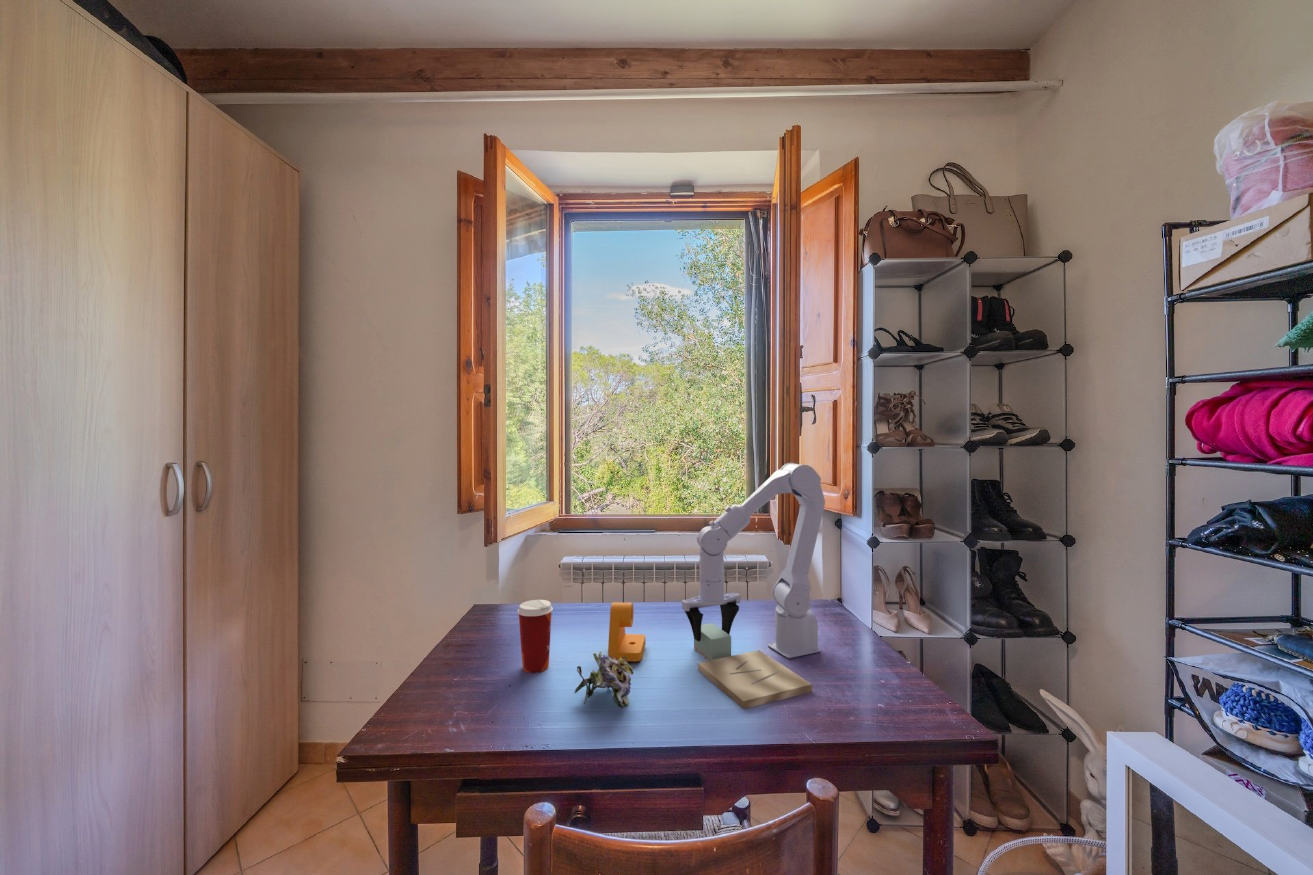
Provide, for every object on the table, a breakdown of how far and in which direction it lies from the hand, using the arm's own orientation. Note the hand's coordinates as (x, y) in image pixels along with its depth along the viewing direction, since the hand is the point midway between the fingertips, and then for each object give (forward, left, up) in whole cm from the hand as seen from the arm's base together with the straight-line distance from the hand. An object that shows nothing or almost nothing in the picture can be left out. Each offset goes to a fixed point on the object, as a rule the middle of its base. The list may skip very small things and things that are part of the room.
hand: (711, 636), depth 123 cm
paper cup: (+39, -10, -4) cm, 40 cm away
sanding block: (0, 0, -4) cm, 4 cm away
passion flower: (+30, +11, -4) cm, 32 cm away
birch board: (-1, +15, -4) cm, 16 cm away
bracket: (+18, -8, -4) cm, 20 cm away
